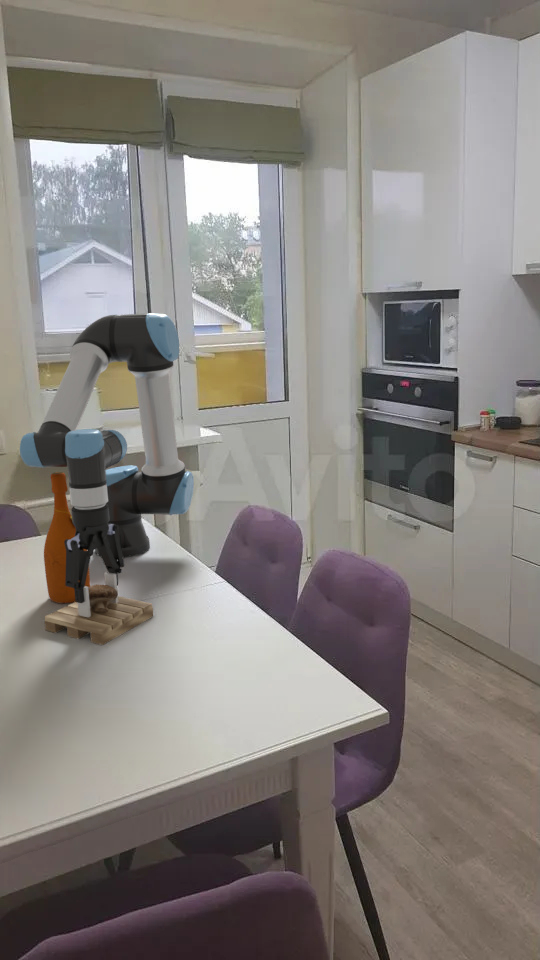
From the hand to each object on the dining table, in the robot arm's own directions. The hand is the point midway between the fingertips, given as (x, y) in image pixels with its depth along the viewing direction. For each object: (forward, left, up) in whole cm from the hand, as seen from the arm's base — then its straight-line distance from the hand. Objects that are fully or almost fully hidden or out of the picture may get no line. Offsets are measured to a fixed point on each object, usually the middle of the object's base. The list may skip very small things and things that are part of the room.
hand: (99, 608), depth 158 cm
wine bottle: (-8, -17, -4) cm, 19 cm away
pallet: (0, 0, -3) cm, 3 cm away
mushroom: (0, 0, 0) cm, 1 cm away
